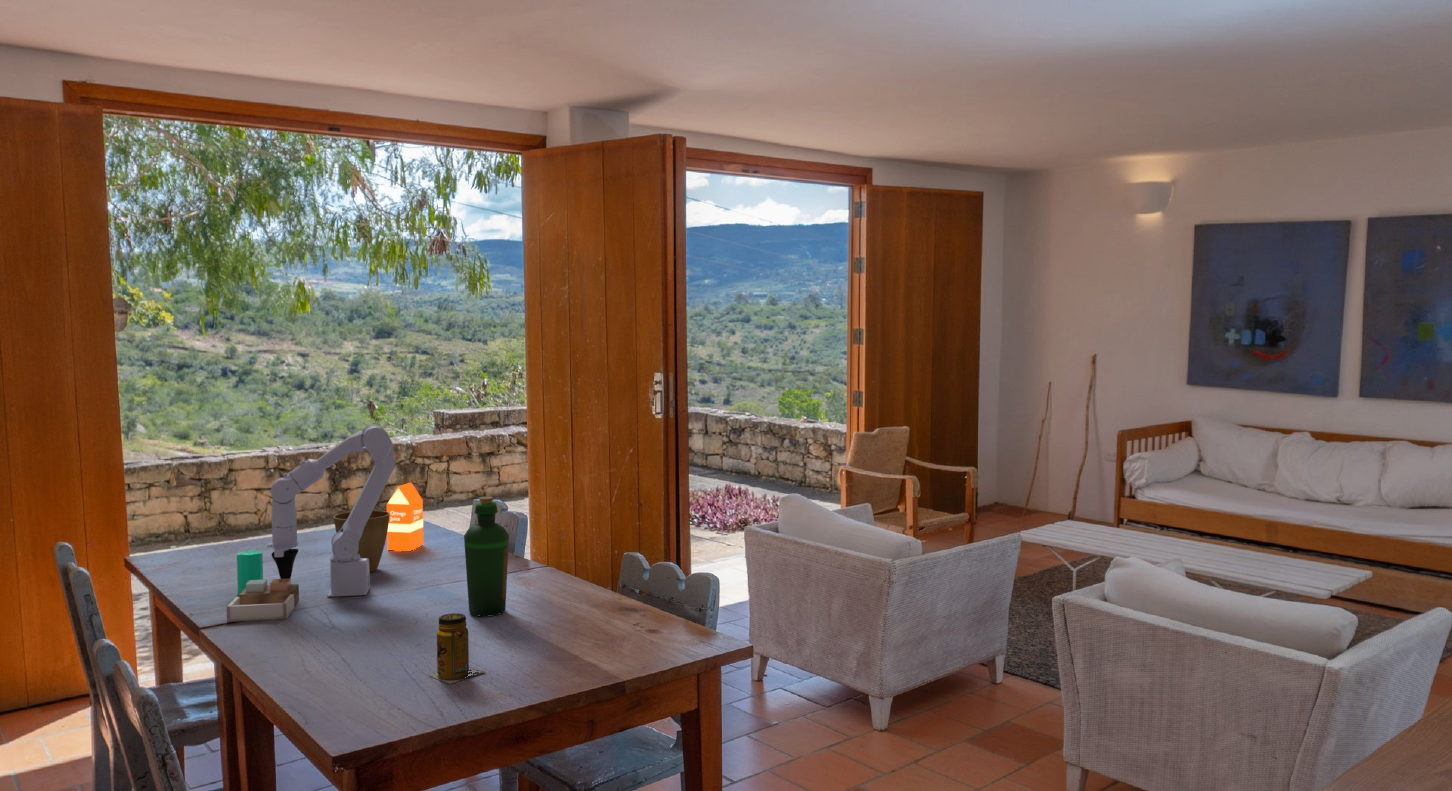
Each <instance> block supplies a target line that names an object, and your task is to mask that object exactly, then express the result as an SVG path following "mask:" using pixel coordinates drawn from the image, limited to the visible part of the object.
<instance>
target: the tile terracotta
mask: <svg viewBox="0 0 1452 791" xmlns="http://www.w3.org/2000/svg"><path fill="white" fill-rule="evenodd" d="M291 584H292V579H291V578H289V579H280V578H274V579H272V580H271V581H270V583H269V585H270V591H287V590H288V589H289V588H290V587H291Z"/></svg>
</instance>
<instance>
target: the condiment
mask: <svg viewBox="0 0 1452 791" xmlns="http://www.w3.org/2000/svg"><path fill="white" fill-rule="evenodd" d="M466 620H467V617H466V615H465V614H464V613H454V612H453V613H447V614H442V615H441V616H439V617H438V626H437V627H438V630H437V631H436V654H437V655H436V665H437V667H436V668H437V672H436V673H433V674H428V676H429V677H431V678H433V679H436V680H438V681H441V682H444V683H448V684H454V683H457V682H460V681H464V680H467V679H469V678H471V677H475V676H476V675H474V674H479V675H481V674H484V673H486V671H484V670H483V671H484V672H480V673H479V672H475V673H473V675H474V676H472V675H471V676H468V674H470V673H471V674H472V672H469V673H468V671H472V670H471V669H470V670H469V668H473V667H472V666H469V665H470V664H469V663H470V661H469V659H470V658H469V657H470V656H469V655H470V654H469V647H470V646H469V629H468V628H467V621H466ZM475 669H476V668H475ZM475 669H473V670H475ZM476 671H481V669H477V670H476ZM467 676H468V677H467ZM465 677H466V678H465Z"/></svg>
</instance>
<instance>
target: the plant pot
mask: <svg viewBox="0 0 1452 791" xmlns="http://www.w3.org/2000/svg"><path fill="white" fill-rule="evenodd" d="M350 513H351V511H347V512H341V513H337V514H334V515H333V523H334V528H335V534H336V533H337V532H338V531H339V530H340V529H341V528H342V526H343V524H344V523H345V522H346V520H347V519H348V517H349V515H350ZM389 517H390V513H389V512H387V510H386V511H384V510H373V511H372V513H371V515H370V517H369V519H368V521H367V523H366V525H365V527H364V530H363V533H362V536H361V538H360V540H359V550H358V554H359V555H360V558H368V559H369V572H370V573H373V572H375V571H377V570H378V567H379V565H380V561H381V558H382V555H383V552H384V548H385V545H386V542H387V531H388V524H389Z"/></svg>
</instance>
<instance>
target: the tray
mask: <svg viewBox="0 0 1452 791" xmlns="http://www.w3.org/2000/svg"><path fill="white" fill-rule="evenodd" d="M294 610H295V606H294V594H290V596H289V597H288V598H287V599H286V601H285V602H284V603H274V604H253V605H240V597H239V596H235V597H234V599H233V600H231V601H230V603H229V604H228V605H227V606H226V622H227V623H233V622H251V621H269V620H270V621H271V620H287V619H288V618H289V617H290V615H291V614H292V612H293V611H294Z"/></svg>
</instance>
